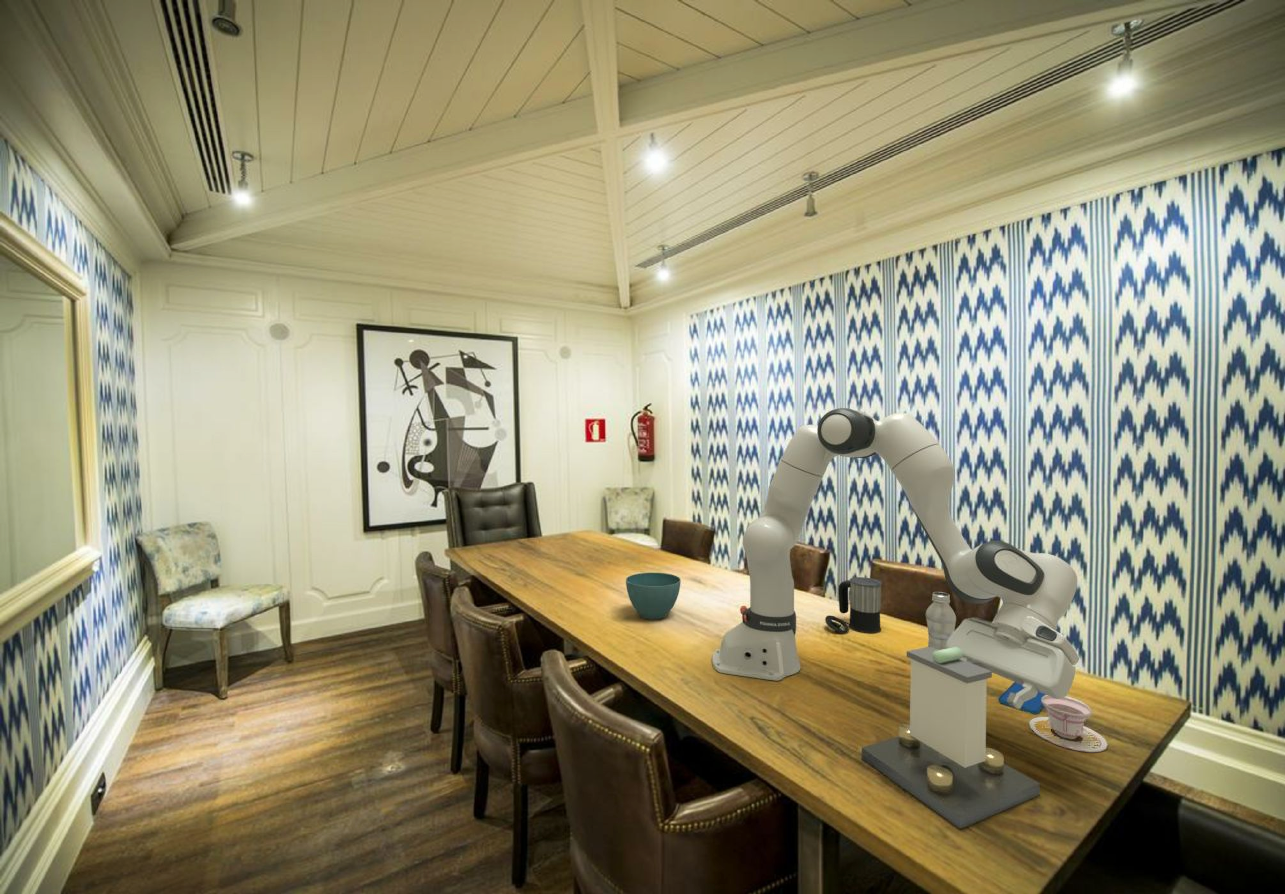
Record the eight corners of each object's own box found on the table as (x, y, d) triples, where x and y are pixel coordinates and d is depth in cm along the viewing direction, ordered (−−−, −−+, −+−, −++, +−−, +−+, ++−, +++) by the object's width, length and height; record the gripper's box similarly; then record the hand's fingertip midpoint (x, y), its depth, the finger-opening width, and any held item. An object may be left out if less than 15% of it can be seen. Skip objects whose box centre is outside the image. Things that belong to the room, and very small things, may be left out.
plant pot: (623, 607, 182) (623, 572, 182) (675, 606, 184) (675, 571, 184) (628, 626, 164) (628, 587, 164) (685, 624, 166) (685, 585, 166)
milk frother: (885, 628, 162) (886, 580, 162) (868, 642, 151) (868, 591, 150) (840, 617, 172) (840, 572, 172) (820, 630, 160) (820, 582, 160)
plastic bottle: (961, 681, 126) (961, 598, 126) (930, 678, 128) (930, 597, 127) (950, 669, 133) (951, 591, 132) (921, 667, 134) (922, 589, 134)
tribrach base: (960, 829, 78) (960, 800, 78) (861, 758, 96) (861, 734, 96) (1039, 795, 86) (1039, 768, 86) (934, 735, 103) (934, 713, 103)
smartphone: (1054, 691, 120) (1037, 712, 111) (1054, 695, 120) (1037, 717, 111) (1015, 680, 126) (996, 699, 116) (1015, 684, 126) (996, 703, 116)
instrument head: (965, 787, 84) (967, 665, 84) (905, 748, 95) (906, 640, 95) (990, 778, 87) (992, 659, 87) (928, 741, 97) (930, 635, 97)
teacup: (1031, 713, 112) (1031, 684, 112) (1106, 733, 104) (1106, 702, 104) (1026, 738, 103) (1027, 706, 102) (1108, 762, 95) (1109, 728, 95)
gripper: (959, 605, 107) (925, 660, 103) (1075, 640, 88) (1038, 709, 84) (974, 623, 109) (941, 679, 105) (1090, 662, 90) (1055, 731, 86)
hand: (985, 693), depth 94 cm, fingers open, 8 cm apart
